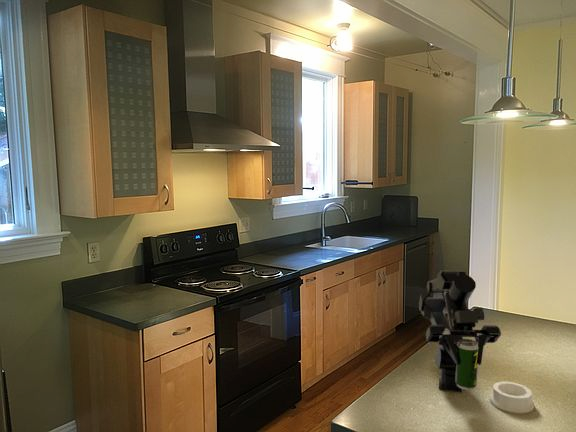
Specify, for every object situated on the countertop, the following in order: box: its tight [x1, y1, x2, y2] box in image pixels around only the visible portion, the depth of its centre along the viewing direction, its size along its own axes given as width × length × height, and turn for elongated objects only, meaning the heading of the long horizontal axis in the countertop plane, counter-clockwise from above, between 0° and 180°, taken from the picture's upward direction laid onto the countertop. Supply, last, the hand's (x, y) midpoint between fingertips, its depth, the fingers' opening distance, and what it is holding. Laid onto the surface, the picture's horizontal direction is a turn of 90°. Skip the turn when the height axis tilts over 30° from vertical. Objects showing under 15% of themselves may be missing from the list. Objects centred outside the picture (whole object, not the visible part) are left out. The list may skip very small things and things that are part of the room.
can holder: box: [489, 380, 535, 415], centre depth 131 cm, size 11×11×4 cm
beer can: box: [455, 338, 479, 391], centre depth 126 cm, size 5×5×12 cm
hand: (468, 364), depth 125 cm, fingers closed on beer can, 5 cm apart
